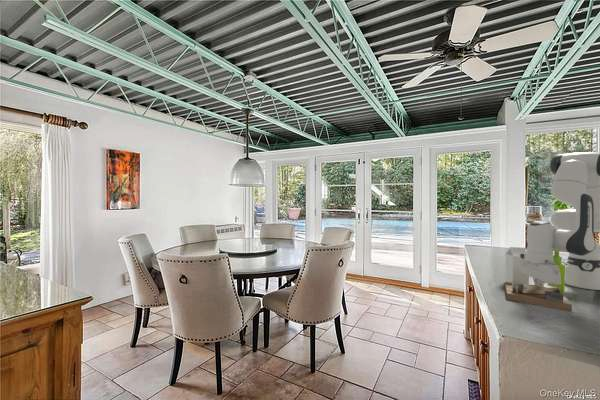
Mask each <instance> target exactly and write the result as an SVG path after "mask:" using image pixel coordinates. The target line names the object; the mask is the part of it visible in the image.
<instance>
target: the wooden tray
mask: <svg viewBox="0 0 600 400" xmlns="http://www.w3.org/2000/svg"><path fill="white" fill-rule="evenodd" d="M512 284H513V283H510V282H504V289H505V294H506V300H510V301H515V302H520V303H525V304H532V305H536V306H542V307H547V308H553V309H559V310H564V311H569V312H572V311H573V304H572V303H571V302H570V301H569V299H568V298H567V296H565V293H562V292H561V290H560V293H556V292H550V291H545V294H531V293H516V292H514V291H513V290H512Z"/></svg>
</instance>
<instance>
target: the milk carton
mask: <svg viewBox="0 0 600 400" xmlns="http://www.w3.org/2000/svg"><path fill="white" fill-rule="evenodd" d="M526 250H527V247H519V246H515V247H514V246H510V247H509V249H508V250H507V252H506V253H505V272H504V273H505V275H504V279H505V282H510V283H519V284H528V285H530V276H527V275H525V274H522V273H521V271H520V259H521V258H520V257H519V254H520V253H525V252H526ZM505 282H504V283H505Z"/></svg>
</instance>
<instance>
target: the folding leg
mask: <svg viewBox="0 0 600 400" xmlns="http://www.w3.org/2000/svg"><path fill="white" fill-rule="evenodd" d="M512 290H513V291H514V292H516V293H531V294H545V291H550V292H556V293H560V290H559V288H558V287H553V286H548V285H545V284H544V285H535V284H529V285H528V284H519V283H513V284H512Z"/></svg>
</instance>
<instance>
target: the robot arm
mask: <svg viewBox="0 0 600 400" xmlns="http://www.w3.org/2000/svg"><path fill="white" fill-rule="evenodd" d="M549 168H550V169H549V170H550V172H551V173H552V174H553V175H555V176H554V178H553V181H552V185H551V195H552V197H553V198H554V199H555V200H557V201H558V202H560V203H562V204H565V205H568V206H570V207H572V208H573V209H560V210H559V209H558V210H555V211H554V212H553V213H552V214H551V216H550V221H548V220H547V221H546V220H536V221H531V222H529V224H528V226H527V229H526V243H527V247H526V252H525V253H520V254H519V257H520V258H521V259H520V271H521V273H522V274H525V275H527V276H529V278H532V280H533V282H534V284H533V285H544V286H545V284H547V285H548V284H550V285H560V284H561V274H560V269H559V268H558V266H557V265H556V263H555V262H553V255H554V251H553V250H557V251H559V252H564V253H568V257H567V265H565V285H568V286H571V287H575V288H580V289H585V290H594V291H595V290H596V291H600V243H599V242H597V241H596V237H595V233H600V152H597V151H596V152H594V151H593V152H592V151H584V152H583V151H582V152H572V153H561V154H560V153H558V154H556V155H555V156H553V157H552V158H551V159H550V162H549Z"/></svg>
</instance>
